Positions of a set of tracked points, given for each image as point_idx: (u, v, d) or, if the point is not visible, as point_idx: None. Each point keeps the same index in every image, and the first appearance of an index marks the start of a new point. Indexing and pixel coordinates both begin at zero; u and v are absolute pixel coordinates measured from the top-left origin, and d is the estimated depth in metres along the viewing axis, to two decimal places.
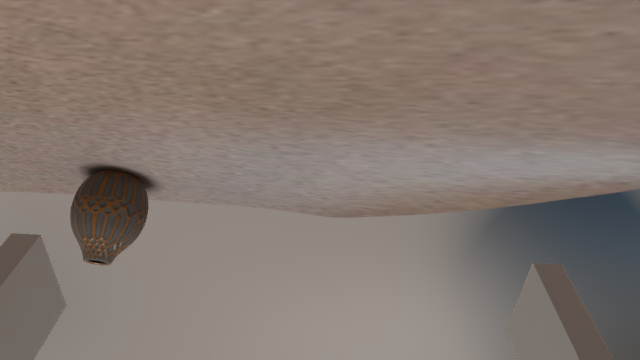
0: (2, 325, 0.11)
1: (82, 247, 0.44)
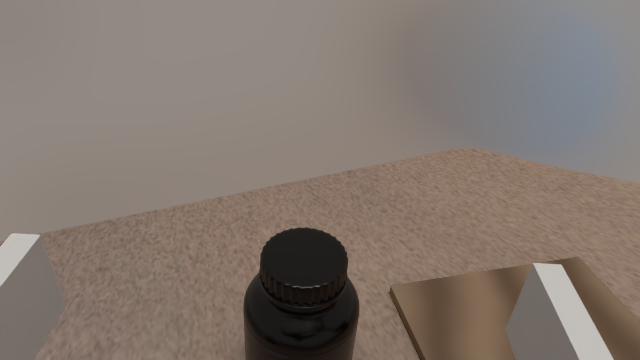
0: (2, 325, 0.11)
1: None
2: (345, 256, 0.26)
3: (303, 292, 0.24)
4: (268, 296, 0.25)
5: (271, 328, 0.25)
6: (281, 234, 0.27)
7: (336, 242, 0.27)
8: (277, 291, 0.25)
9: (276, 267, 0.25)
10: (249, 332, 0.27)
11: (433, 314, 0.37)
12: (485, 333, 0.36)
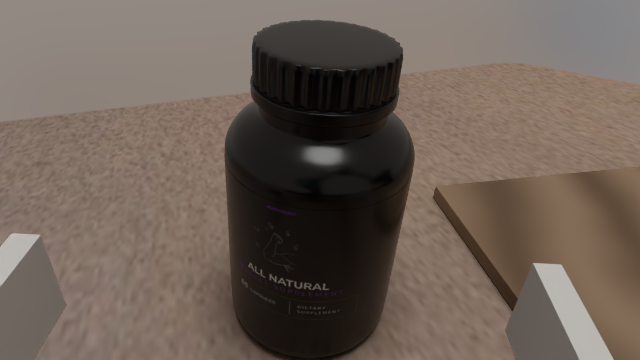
0: (2, 325, 0.11)
1: None
2: (398, 46, 0.15)
3: (328, 79, 0.13)
4: (266, 102, 0.14)
5: (270, 161, 0.15)
6: (288, 22, 0.16)
7: (380, 33, 0.16)
8: (281, 86, 0.14)
9: (280, 48, 0.14)
10: (233, 181, 0.16)
11: (500, 218, 0.26)
12: (577, 242, 0.25)
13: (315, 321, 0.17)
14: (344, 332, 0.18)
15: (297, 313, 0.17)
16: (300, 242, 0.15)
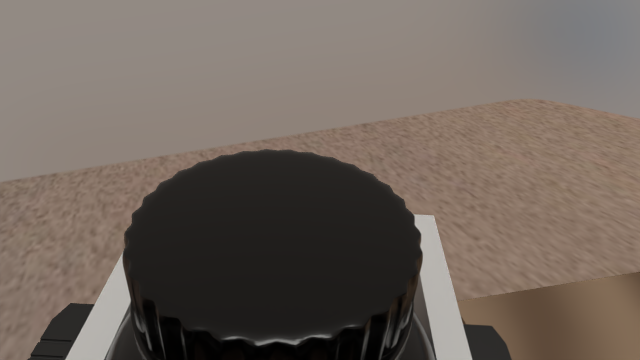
0: None
1: None
2: (412, 227, 0.08)
3: None
4: None
5: None
6: (211, 163, 0.09)
7: (378, 187, 0.09)
8: (169, 353, 0.07)
9: (171, 261, 0.07)
10: None
11: None
12: None
13: None
14: None
15: None
16: None
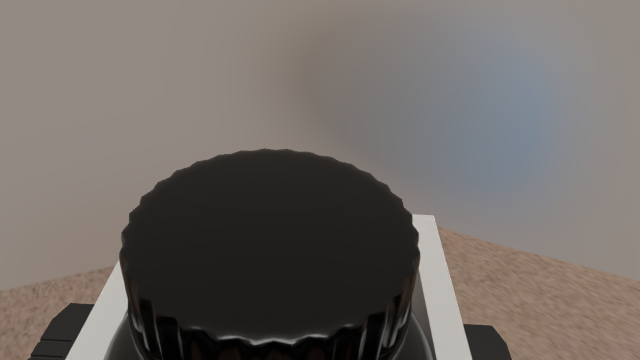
0: None
1: None
2: (410, 226, 0.08)
3: None
4: None
5: None
6: (209, 162, 0.09)
7: (376, 186, 0.09)
8: (166, 353, 0.07)
9: (168, 260, 0.07)
10: None
11: None
12: None
13: None
14: None
15: None
16: None
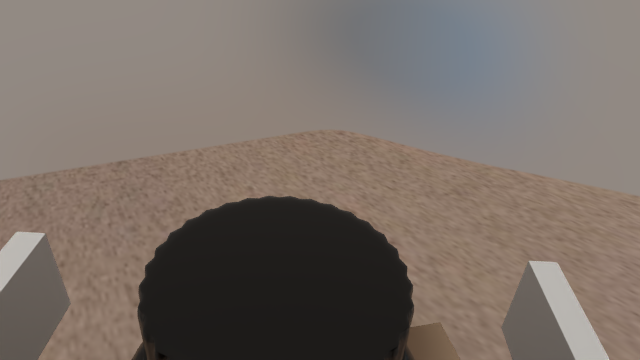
0: (8, 323, 0.11)
1: None
2: (404, 278, 0.09)
3: None
4: None
5: None
6: (218, 212, 0.10)
7: (373, 236, 0.09)
8: None
9: (183, 316, 0.07)
10: None
11: None
12: None
13: None
14: None
15: None
16: None
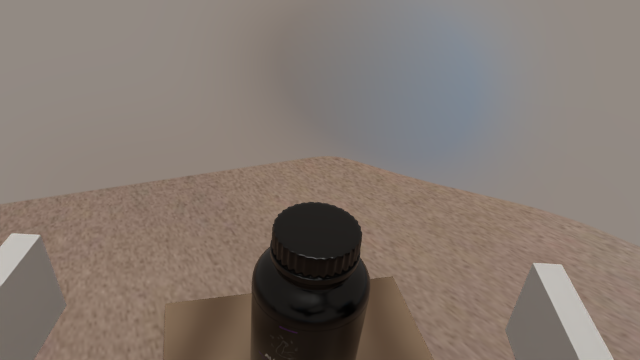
0: (2, 325, 0.11)
1: None
2: (359, 230, 0.25)
3: (317, 263, 0.23)
4: (280, 268, 0.25)
5: (282, 302, 0.25)
6: (293, 207, 0.27)
7: (349, 217, 0.26)
8: (290, 263, 0.24)
9: (289, 238, 0.24)
10: (258, 307, 0.26)
11: (197, 337, 0.33)
12: None
13: None
14: None
15: None
16: (298, 347, 0.25)
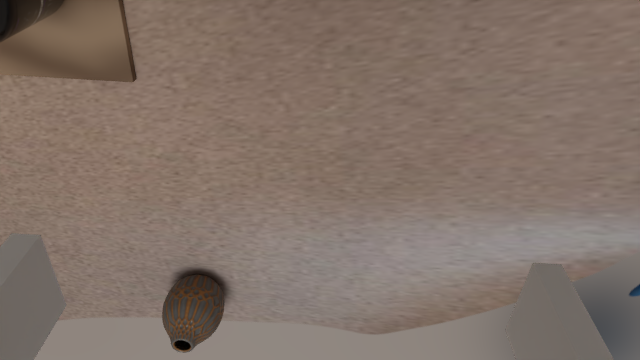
0: (2, 325, 0.11)
1: (173, 330, 0.52)
2: None
3: None
4: None
5: None
6: None
7: None
8: None
9: None
10: None
11: (8, 51, 0.42)
12: None
13: None
14: None
15: None
16: (27, 12, 0.34)
